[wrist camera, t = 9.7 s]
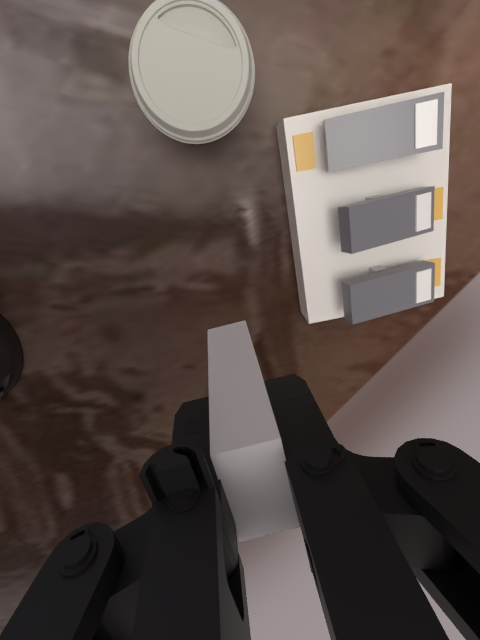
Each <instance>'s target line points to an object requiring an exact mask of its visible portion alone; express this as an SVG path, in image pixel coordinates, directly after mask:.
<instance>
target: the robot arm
mask: <svg viewBox="0 0 480 640" xmlns="http://www.w3.org/2000/svg"><path fill="white" fill-rule="evenodd" d="M22 365H23V356H22V350H21V346H20V343H19V341H18V338H17V336H16V334H15V333H14V331H13V329H12V328H11V327H10V325H9V324H8V323H7V321H6V320H5V319H4V318H3V317H2V316H1V315H0V399H2V398H3V397H4V396H5V395H6V394H7V393H8V392H9V391H10V390H11V389H12V388H13V387H14V385H15V384H16V382H17V381H18V379H19V377H20V374H21V371H22ZM208 377H209V396H208V397H204V398H200V399H196V400H192V401H188V402H184V403H183V404H182V405H181V407H180V408H179V410H178V411H177V413H176V414H175V420H174V427H173V428H174V430H173V435H172V440H173V441H172V443H171V445H168V446H166V447H163V448H162V449H160V450H159V451H157V452H156V453H154V454H153V455H152V456H151V457H150V458H149V459H148V460H147V461H146V463H145V464H144V465H143V467H142V470H141V472H140V474H139V476H140V478H141V481H142V483H143V485H144V487H145V489H146V491H147V493H148V496H149V498H150V500H151V502H152V504H153V505H152V508H150V509H149V510H148V511H147V512H146V513H145V514H143V515H142V516H140V517H139V518H137V519H135V520H134V521H132V522H130V523H128V524H126V525H125V526H123V527H121V528H119V529H117V530H116V531H114V532H113V530H112V529H111V528H110V527H109V526H108V525H107V524H104V523H100V522H95V523H90V524H86V525H84V526H82V527H80V528H78V529H76V530H74V531H72V532H71V533H70V534H69V535H68V536H66V537H65V538H64V539H63V540H62V541H61V542H59V544H58V545H57V546H56V548H55V549H54V550H53V551H52V553H51V554H50V555H49V557H48V558H47V560H46V562H45V563H44V565H43V566H42V568H41V570H40V571H39V573H38V575H37V576H36V578H35V579H34V581H33V583H32V584H31V586H30V588H29V589H28V591H27V592H26V594H25V596H24V597H23V599H22V601H21V602H20V604H19V605H18V607H17V609H16V610H15V612H14V614H13V615H12V617H11V618H10V620H9V622H8V623H7V625H6V627H5V628H4V630H3V631H2V633H1V635H0V640H251V636H250V627H249V617H248V607H247V597H246V588H245V578H244V569H243V565H242V562H241V558H240V555H239V553H238V545H237V535H238V538H239V541H240V542H243V541H246V540H251V539H254V538H258V537H262V536H266V535H270V534H274V533H278V532H282V531H286V530H290V529H293V528H298V527H301V530H302V534H303V538H304V542H305V546H306V551H307V555H308V559H309V563H310V568H311V572H312V573H313V576H314V579H315V583H316V587H317V591H318V594H319V598H320V601H321V605H322V609H323V612H324V616H325V619H326V623H327V626H328V630H329V634H330V637H331V640H449V638H448V636H447V635H446V633H445V631H444V629H443V627H442V625H441V624H440V622H439V620H438V618H437V616H436V614H435V612H434V610H433V609H432V607H431V605H430V603H429V601H428V599H427V597H426V595H425V594H424V592H423V590H422V588H421V586H420V584H419V582H420V583H421V584H422V585H423V587H424V588H425V589H426V590H427V592H428V593H429V594H430V595H431V597H432V598H433V599H434V600H435V602H436V603H437V604H438V605H439V606H440V608H441V609H442V610H443V612H444V613H445V614H446V615H447V617H448V618H449V619H450V620H451V622H452V623H453V624H454V625H455V626H456V628H457V629H458V630H459V632H460V633H461V634H462V635H463V637H464V638H465V639H466V640H480V463H479V462H477V461H476V460H475V459H473V458H472V457H470V456H469V455H468V454H466V453H464V452H463V451H462V450H461V449H459V448H457V447H455V446H453V445H451V444H449V443H447V442H444V441H440V440H436V439H431V438H430V439H429V438H428V439H427V438H418V439H414V440H411V441H407V442H405V443H404V444H403V445H402V446H400V447H399V448H398V449H397V452H396V454H395V457H393V458H392V457H368V456H362V455H358V454H355V453H352V452H350V451H348V450H346V449H345V448H344V447H343V446H342V445H340V444H339V443H338V442H337V441H336V439H335V438H334V436H333V434H332V432H331V430H330V428H329V426H328V424H327V422H326V420H325V418H324V417H323V415H322V413H321V411H320V409H319V407H318V405H317V403H316V402H315V399H314V397H313V395H312V394H311V391H310V389H309V387H308V385H307V383H306V381H305V380H303V379H302V378H300V377H298V376H297V375H295V374H290V375H286V376H282V377H279V378H275V379H271V380H267V381H263V377H262V374H261V371H260V367H259V364H258V361H257V357H256V354H255V351H254V347H253V344H252V341H251V337H250V334H249V331H248V327H247V324H246V321H241V322H237V323H233V324H229V325H225V326H221V327H217V328H213V329H209V330H208ZM236 532H237V534H236ZM416 578H417V579H418V580H419V582H418V580H417V579H416Z"/></svg>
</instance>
